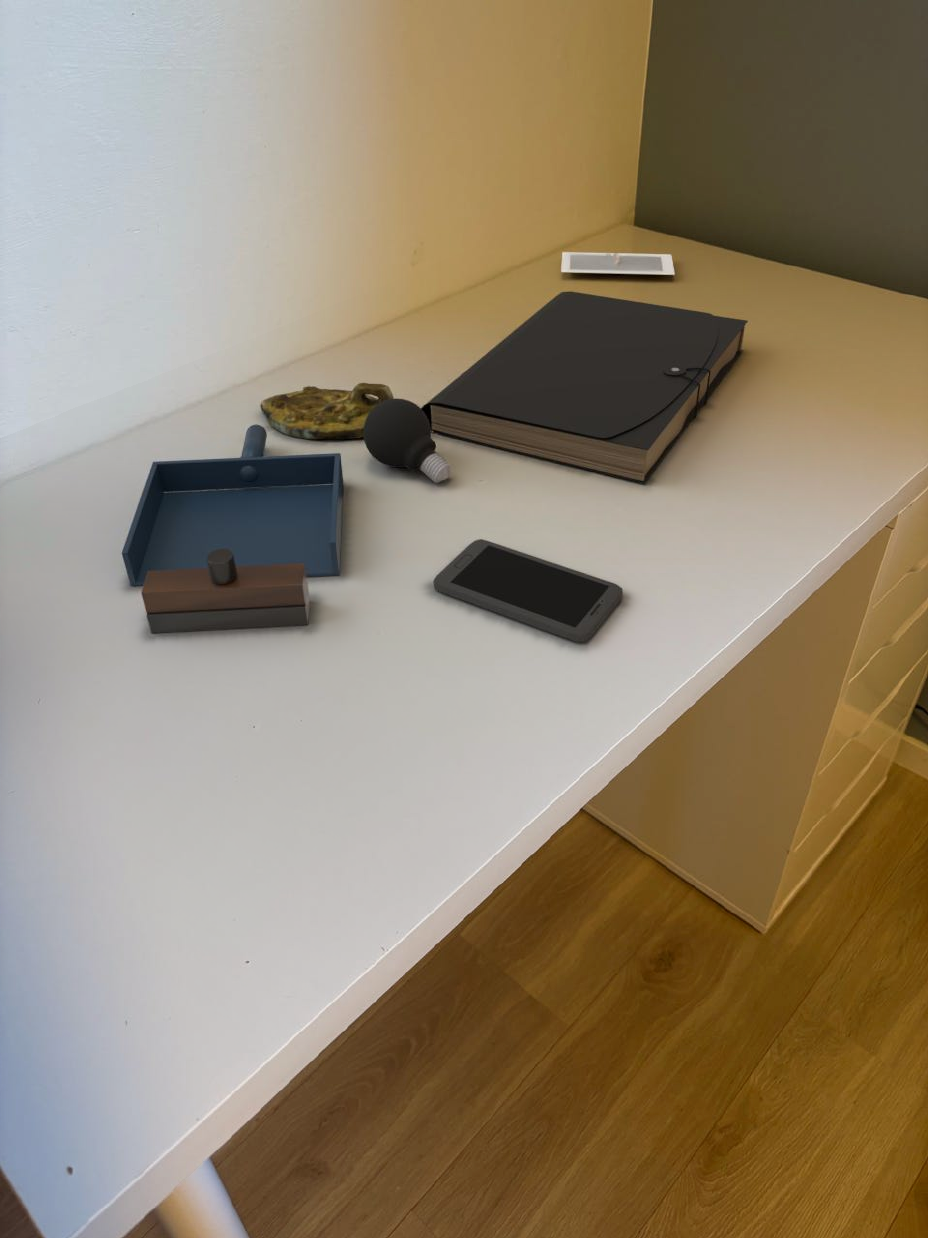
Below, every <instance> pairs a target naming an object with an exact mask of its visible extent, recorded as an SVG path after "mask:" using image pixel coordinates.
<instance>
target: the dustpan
mask: <svg viewBox="0 0 928 1238" xmlns="http://www.w3.org/2000/svg"><path fill="white" fill-rule="evenodd" d="M267 438H268V433H267V431H266V429H265V428H264V426H262V425H260V424H252V425H250V426H249V427H248V428H247V429H246V432H245V436H244V441H243V446H242V451H241V455H240V457H227V458H223V457H222V458H205V459H203V458H202V459H185V460H183V459H182V460H181V459H180V460H160V461H153V462H152V464H151V467H150V469H149V472H148V475H147V478H146V481H145V484H144V487H143V490H142V493H141V496H140V499H139V501H138V504H137V507H136V510H135V513H134V516H133V519H132V522H131V524H130V527H129V530H128V533H127V536H126V539H125V542H124V545H123V548H122V551H121V556H122V559H123V560H122V561H123V563H124V566H125V567H124V568H125V570H126V574H127V577H128V581H129V585H130V586H131V587H140V586H143V585H144V582H145V579H146V575H147V572H148V571H158V570H179V569H199V568H208V565H207V560H206V557H207V555H208V554H209V553H210V552H212V551H214V550H217V549H228V550H230V551H231V552H232V553H233V555H234V560H235V565H236V567H239V566H259V565H279V564H300V563H304V564H305V571H306V578H309V577H310V578H312V577H330V576H331V577H332V576H340V572H341V571H340V569H341V551H342V550H341V548H342V547H341V546H342V524H343V507H344V506H343V503H344V475H343V466H342V455H341V454H342V453H341V452H333V453H332V452H331V453H313V454H311V453H310V454H289V455H270V456H269V455H268V456H265V450H266V443H267Z"/></svg>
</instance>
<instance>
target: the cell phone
mask: <svg viewBox="0 0 928 1238" xmlns="http://www.w3.org/2000/svg"><path fill="white" fill-rule="evenodd" d="M432 582H433V588H434V589H435V590H436V591H438V592H441V593H443V594H445V595H448V596H451V597H454V598H456V599H458V600H463V601H464V602H467V603H470V604H472V605H476V606H477V607H481V608H483V609H487V610H489V611H491V612H495V613H497V614H500V615H502V616H505V617H507V618H511V619H512V620H513V619H514V620H516V621H519V622H521V623H525V624H527V625H530V626H532V627H535V628H538V629H541V630H543V631H546V632H548V633H551V634H554V635H556V636H559V637H562V638H565V639H567V640H570V641H573V642H576V643H578V642H579V643H581V642H582V643H584V642H586V641H587V640H588V639H590V638H591V637H592V636H593V635H594V633H595V632H596V631H597V630H598V628H599V627H600V626H601V625H602V624H603V622H604V621H605V619H606V618H607V617H608V616H609V615H610V613H611V612H612V611H613V610H614V608H615V607H616V606H617V604H618V603H619V602H620V601H621V599H622V597H623V591H624V590H623V588H622V587H621V586H619V585H618V584H617V583H614V582H611V581H608V580H605V579H602V578H599V577H596V576H595V575H594V576H593V575H591V574H588V573H584V572H581V571H578V570H575V569H573V568H570V567H566V566H563V565H561V564H559V563H554V562H553V561H552V562H551V561H549V560H545V559H543V558H540V557H537V556H535V555H531V554H528V553H525V552H522V551H519V550H516V549H513V548H510V547H507V546H504V545H501V544H499V543H495V542H492V541H489V540H486V539H482V538H479V539H475V540H473V541H472V542H471V543H470V544H468V545H467V546H466V547H465V548H464V549H463V550H461V552H460V553H459V554H458V555H456V557H454V558H453V560H452V561H450V562H449V563H448V564H447V565H446V566H445V567H444V568H443V569H442V570H441V571H440V572H439V573H438V574H437V575H435V577H434V579H433V581H432Z"/></svg>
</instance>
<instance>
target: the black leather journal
mask: <svg viewBox="0 0 928 1238" xmlns="http://www.w3.org/2000/svg"><path fill="white" fill-rule="evenodd" d="M748 322H749V321H748V320H746V319H740V318H733V317H726V316H720V315H715V314H714V315H713V314H712V313H710V312H704V311H700V310H699V311H698V310H693V309H686V308H679V307H673V306H667V305H660V304H654V303H648V302H641V301H635V300H629V299H624V298H623V299H621V298H616V297H610V296H603V295H597V294H591V293H584V292H578V291H570V290H569V291H561V292H559V293H558V294H557V295H555V296H554V297H553V298H552V299H550V300H549V301H548V302H547V303H545V304H544V305H543V306H542V307H541V308H540V309H538V310H537V311H536V312H534V314H532V315H531V316H530V317H529V318H528V319H527V320H525V321H524V322H523V323H522V324H520V325H519V326H518V327H516V329H514V330H513V331H512V332H511V333H510V334H508V335H506V337H505V338H504V339H502V340H501V341H500V342H498V344H496V345H495V346H494V347H493V348H491V349H490V350H489V351H488V352H486V354H484V355H483V356H482V357H480V358H479V359H478V360H477V361H475V363H473V364H472V365H471V366H470V367H469V368H467V369H466V370H465V371H464V372H463V373H461V374H460V375H459V376H457V378H455V379H454V380H453V381H452V382H450V383H449V384H448V385H447V386H445V387H444V388H443V389H442V390H441V391H440V392H438V393H437V394H436V395H435V396H434V397H433V398H431V399H430V400H429V401H427V402H426V403H425V404H424V405H423V406H422V407H420V408H421V409H422V410H423V411H424V413H425V414H426V416H427V418H428V420H429V423H430V427H431V432H432V433H434V434H436V435H442V436H445V437H449V438H453V439H458V440H461V441H464V442H469V443H474V444H479V445H483V446H486V447H491V448H495V449H499V450H502V451H507V452H511V453H516V454H521V455H524V456H528V457H532V458H536V459H541V460H544V461H549V462H554V463H558V464H562V465H567V466H569V467H573V468H579V469H583V470H587V471H591V472H595V473H599V474H604V475H607V476H612V477H616V478H620V479H624V480H628V481H634V482H636V483H641V484H646V483H647V482H648V480H649V478H650V477H651V476H652V475H653V473H654V472H655V471H656V469H657V468H658V466H659V465H660V464H661V462H662V461H663V460H664V458H665V457H666V456H667V454H668V453H669V452H670V450H672V447H673V446H674V445H675V443H676V442H677V441H678V439H679V438H680V437H681V435H682V434H683V432H684V431H685V430H686V429H687V427H688V426H689V424H691V422H692V421H693V420H694V419H697V415H698V412H699V411H700V410H701V409H702V407H703V406H704V405H707V402H708V399H709V398H710V396H711V395H712V394H713V392H714V391H715V389H716V388H717V387H718V385H719V384H720V382H721V381H722V380H723V379H724V377H725V376H726V375H727V373H728V372H729V370H730V369H731V368H732V367H733V365H734V364H735V362H737V360H738V359H739V357H740V355H742V353H743V352H744V349H743V341H744V335H745V328H746V327H745V326H746V324H748Z"/></svg>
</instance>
